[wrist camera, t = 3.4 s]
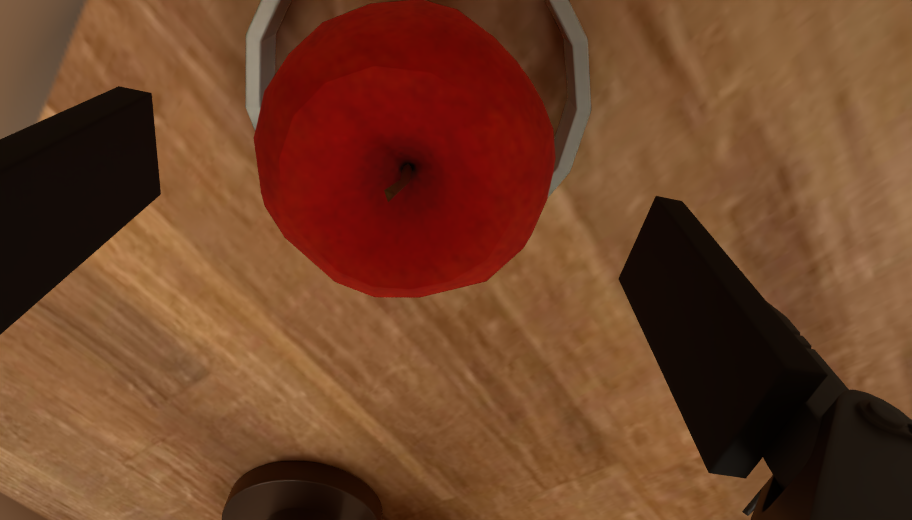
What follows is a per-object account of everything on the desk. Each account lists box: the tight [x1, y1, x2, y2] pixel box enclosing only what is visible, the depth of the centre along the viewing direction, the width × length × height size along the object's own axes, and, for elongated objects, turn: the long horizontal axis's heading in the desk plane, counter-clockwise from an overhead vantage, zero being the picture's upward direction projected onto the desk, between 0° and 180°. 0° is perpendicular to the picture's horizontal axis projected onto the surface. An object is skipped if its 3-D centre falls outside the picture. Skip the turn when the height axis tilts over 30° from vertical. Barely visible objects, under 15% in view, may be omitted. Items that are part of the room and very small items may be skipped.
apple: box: [254, 0, 556, 297], centre depth 18 cm, size 9×9×11 cm
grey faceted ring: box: [245, 0, 591, 197], centre depth 22 cm, size 14×14×2 cm
